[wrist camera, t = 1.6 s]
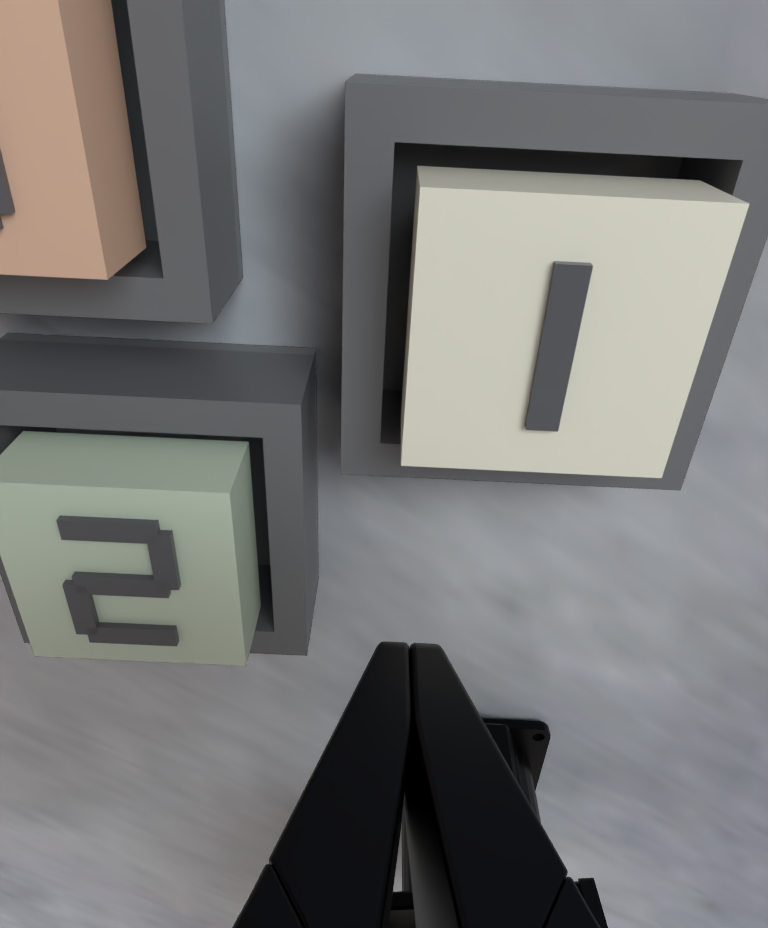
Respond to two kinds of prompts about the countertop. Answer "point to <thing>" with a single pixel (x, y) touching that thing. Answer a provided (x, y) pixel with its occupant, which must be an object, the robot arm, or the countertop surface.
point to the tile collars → (364, 272)
